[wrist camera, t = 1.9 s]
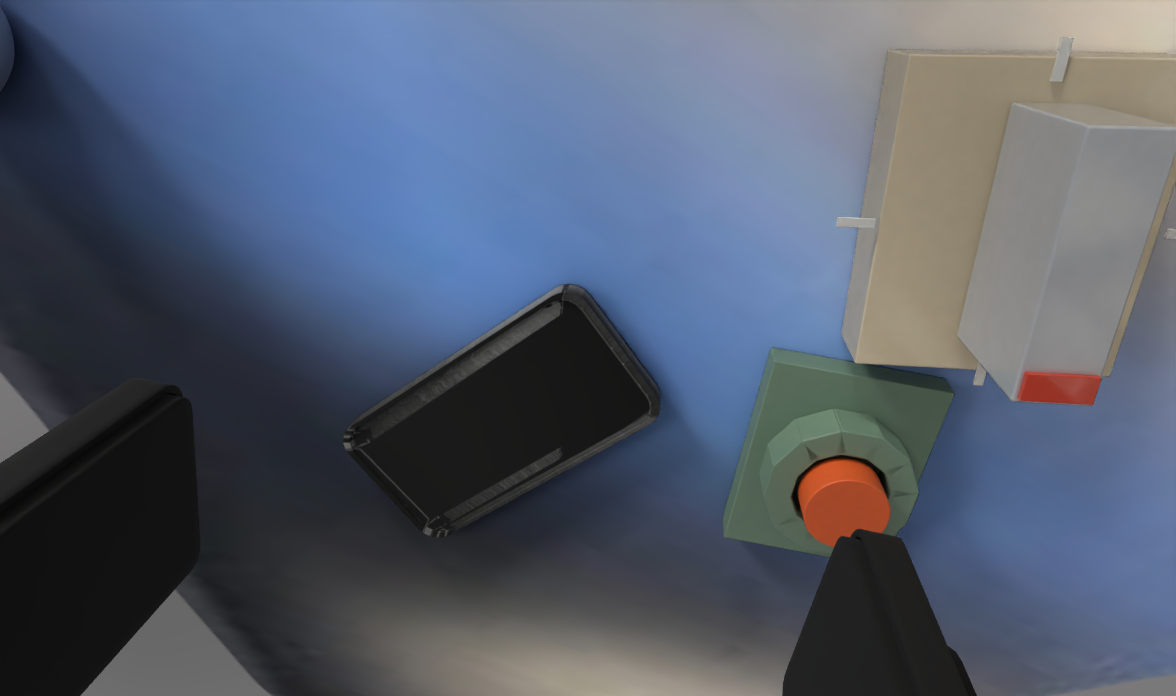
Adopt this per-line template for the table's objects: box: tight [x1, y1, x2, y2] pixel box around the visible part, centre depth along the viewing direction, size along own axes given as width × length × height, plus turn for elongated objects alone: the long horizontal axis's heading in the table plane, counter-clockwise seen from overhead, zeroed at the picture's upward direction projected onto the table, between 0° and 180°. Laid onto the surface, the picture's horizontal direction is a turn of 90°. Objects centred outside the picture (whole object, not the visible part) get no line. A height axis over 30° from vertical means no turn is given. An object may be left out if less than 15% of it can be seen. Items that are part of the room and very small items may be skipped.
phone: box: [343, 284, 661, 537], centre depth 37 cm, size 8×1×15 cm
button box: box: [722, 347, 955, 557], centre depth 35 cm, size 10×8×4 cm
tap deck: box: [836, 37, 1176, 386], centre depth 29 cm, size 13×13×3 cm
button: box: [798, 458, 891, 547], centre depth 33 cm, size 4×4×2 cm
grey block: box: [957, 102, 1176, 406], centre depth 25 cm, size 9×3×6 cm, turn 0°
